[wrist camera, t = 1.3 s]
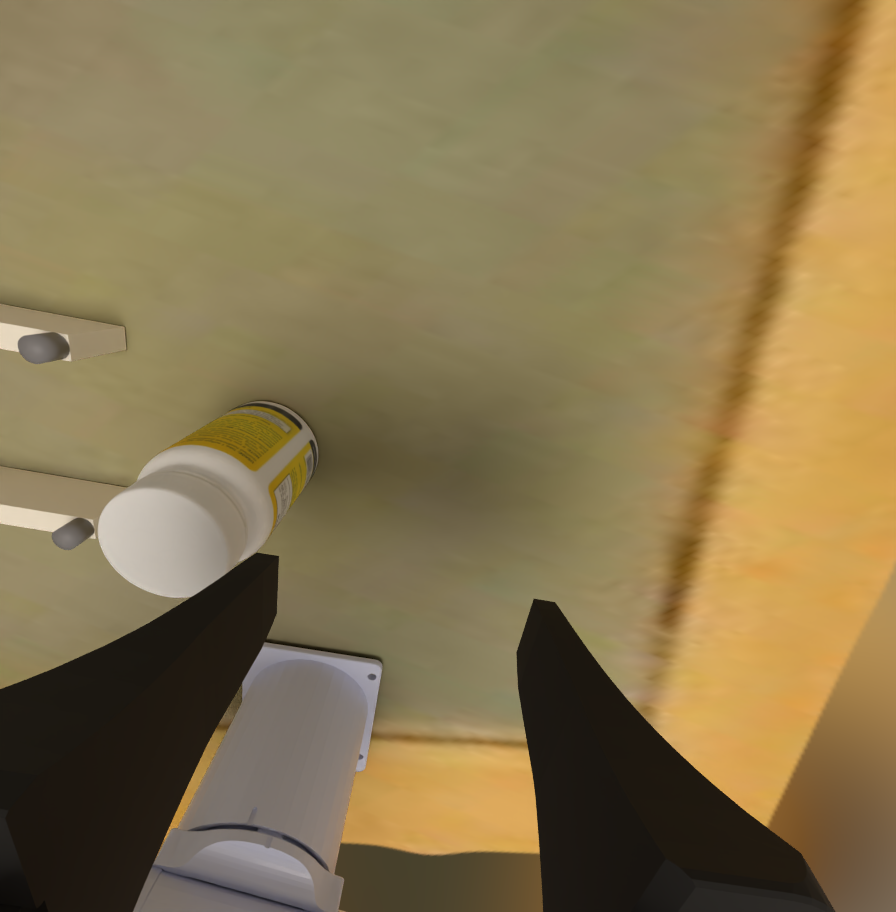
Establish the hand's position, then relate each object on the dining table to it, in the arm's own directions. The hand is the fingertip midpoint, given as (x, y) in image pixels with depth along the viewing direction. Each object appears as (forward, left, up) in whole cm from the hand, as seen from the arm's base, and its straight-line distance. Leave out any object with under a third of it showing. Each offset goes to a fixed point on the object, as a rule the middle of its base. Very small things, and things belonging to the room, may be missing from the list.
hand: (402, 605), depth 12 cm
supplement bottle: (0, +8, -10) cm, 12 cm away
